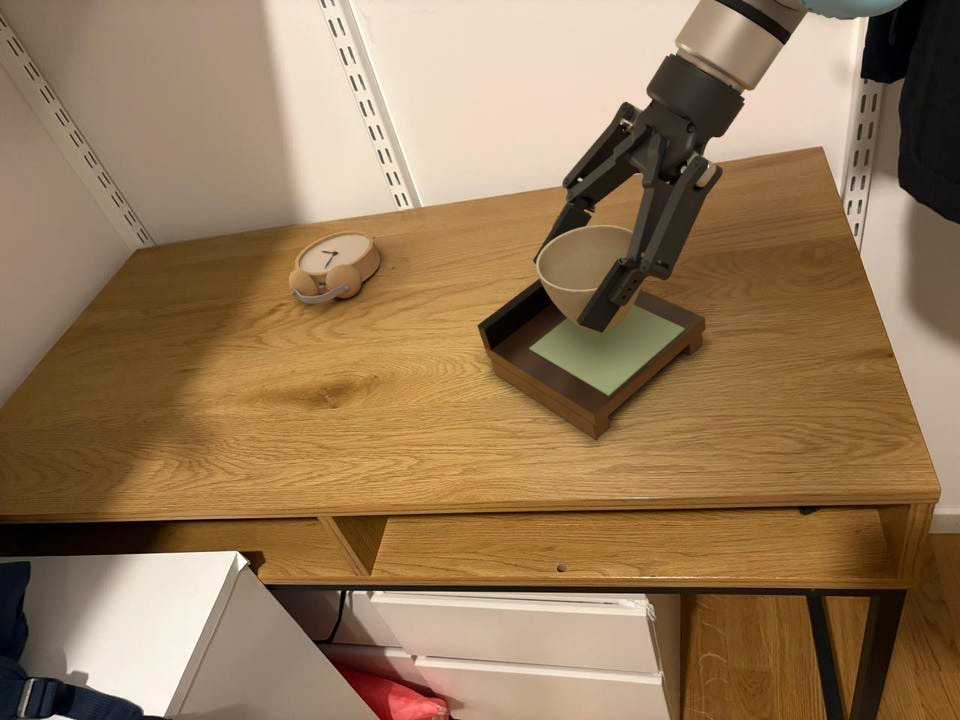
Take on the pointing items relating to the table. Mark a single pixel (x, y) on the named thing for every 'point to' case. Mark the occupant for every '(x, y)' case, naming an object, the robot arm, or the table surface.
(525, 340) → the tray
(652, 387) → the table surface
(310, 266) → the alarm clock
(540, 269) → the flower pot
